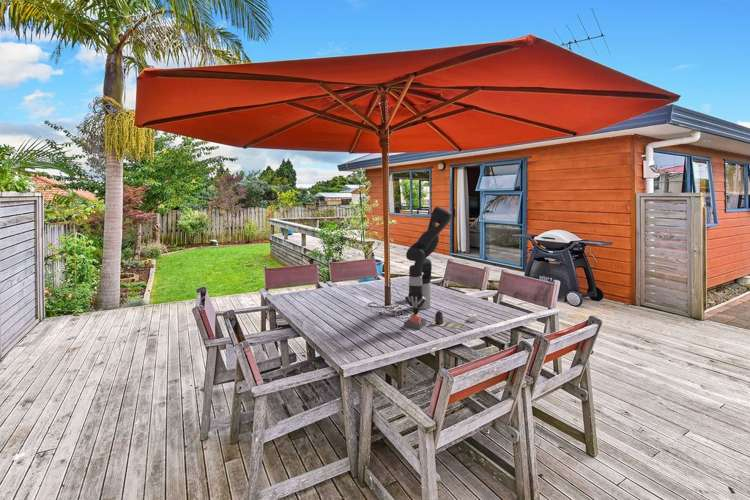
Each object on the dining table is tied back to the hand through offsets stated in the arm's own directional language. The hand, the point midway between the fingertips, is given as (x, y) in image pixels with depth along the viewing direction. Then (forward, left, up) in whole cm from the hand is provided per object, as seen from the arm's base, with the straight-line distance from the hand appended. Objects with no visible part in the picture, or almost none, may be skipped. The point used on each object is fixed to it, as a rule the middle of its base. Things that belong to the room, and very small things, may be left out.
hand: (415, 313), depth 210 cm
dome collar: (0, 0, -8) cm, 8 cm away
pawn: (+10, +10, -7) cm, 16 cm away
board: (+15, +10, -8) cm, 19 cm away
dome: (0, 0, -6) cm, 6 cm away
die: (+26, +24, -8) cm, 36 cm away
